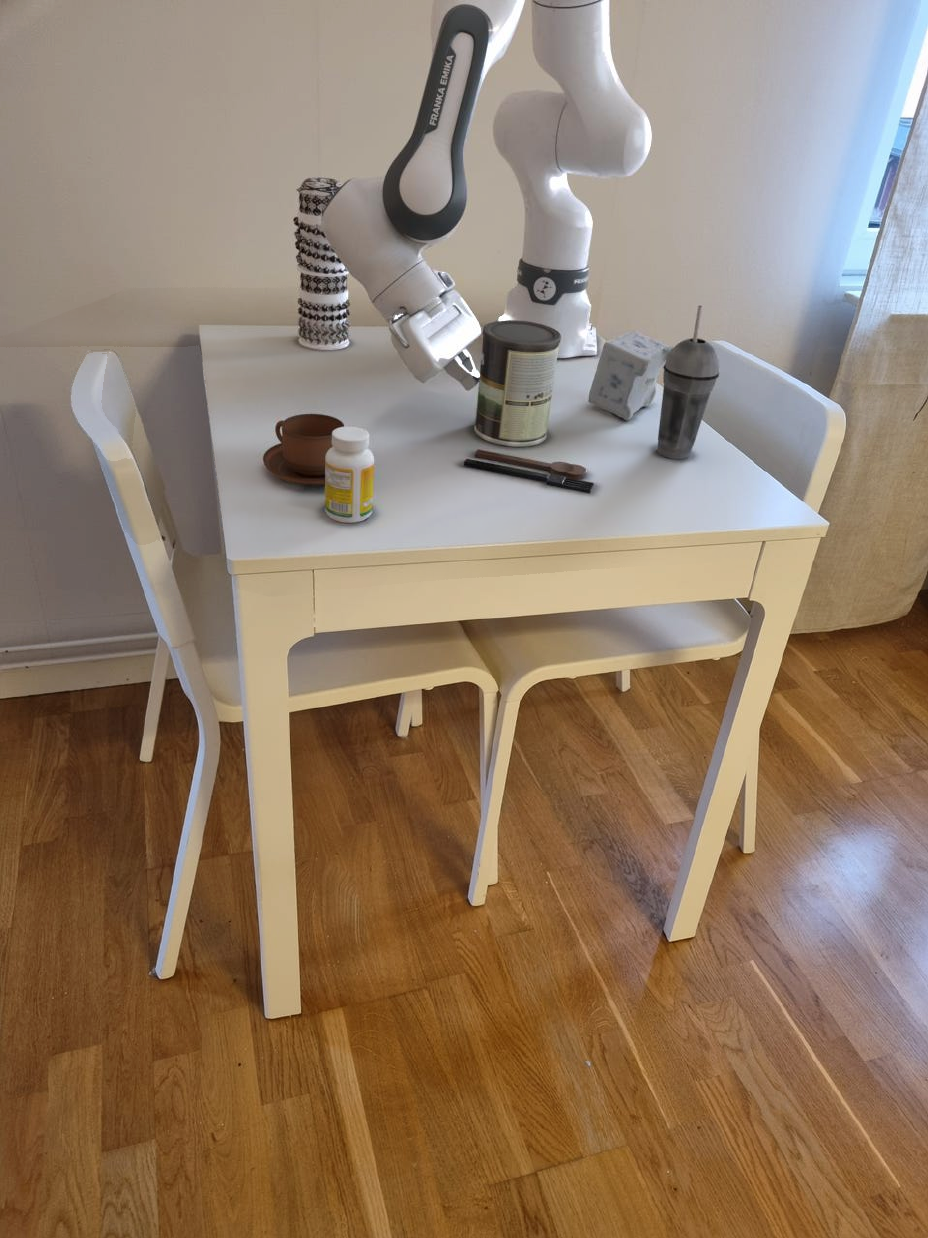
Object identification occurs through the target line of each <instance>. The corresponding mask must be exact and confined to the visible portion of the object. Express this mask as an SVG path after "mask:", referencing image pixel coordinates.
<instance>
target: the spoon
mask: <svg viewBox="0 0 928 1238" xmlns="http://www.w3.org/2000/svg"><path fill="white" fill-rule="evenodd" d="M474 457H475V458H480V459H484V460H485V459H486V460H490V461H495V462H501V463H506V464H511V465H516V466H521V467H527V468H531V469H537V470H541V471H547V472H549V473H550V474H555V475H560V476H565V477H567V478H572V479H577V480H583V479H584V478H586V477H587V473H588V472H587V468H586V467H585V466H582V465H579V464H576V463H570V462H566V461H553V462H551V463H550V462H546V461H540V460H535V459H530V458H525V457H521V456H520V457H519V456H514V455H509V454H504V453H499V452H493V451H489V450H483V449H480V448H479V449H477V450H476V451H475V452H474Z"/></svg>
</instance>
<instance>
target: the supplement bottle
mask: <svg viewBox="0 0 928 1238" xmlns="http://www.w3.org/2000/svg"><path fill="white" fill-rule="evenodd" d="M332 446H333V447H332V448H330V449H329V450H328V452H327V453H326V457H325V485H324V511H325V514H326V515H327V516H328V517H329V518H330V519H332V520H334V521H335V522H340V523H346V524H347V523H348V524H353V523H359V522H363V521H365V520H367V519H368V518H370V516H371V515H372V514H373V508H374V506H373V505H374V477H375V456H374V454H373V452H372V450H371V449H369V446H370V434H369V432H368V431H367V430H366V429H364V428H361V427H358V426H344V427H340V428H337V429H335V430H334V431H333V432H332Z"/></svg>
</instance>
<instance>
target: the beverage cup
mask: <svg viewBox="0 0 928 1238" xmlns="http://www.w3.org/2000/svg"><path fill="white" fill-rule="evenodd" d="M696 311H697V312H696V317H695V324H694V331H693V337H691V338H686V339H683V340H682V341H680V342H679V343H677V344H676V345H675V346H673V349H672V350H671V352H670V353H669V355H668V358H667V360H666V361H665V362H664V364H663V366H662V368H663V374H662V375H663V378H662V379H663V381H662V382H663V388H662V389H663V391H662V399H661V408H660V417H659V426H658V432H657V433H658V434H657V448H656V451H657V453H658V454H659V455H660V456H663V457H664V458H668V459H673V460H685V459H688V458H690V456H691V453H692V449H693V447H694V445H695V442H696V438H697V437H698V434H699V430H700V427H701V424H702V420H703V417H704V414H705V411H706V408H707V405H708V402H709V398H710V395H711V392H713V389H714V388H715V385H716V382H717V379H718V378H719V377H720V359H719V354H718V352H717V351H716V349H715V348H714V346H713V345H712V344H711V343H710V342H708V341H707V340H705V339H702V338H698V336H699V329H700V324H701V316H702V311H703V305H697V310H696Z"/></svg>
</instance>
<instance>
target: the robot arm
mask: <svg viewBox="0 0 928 1238" xmlns="http://www.w3.org/2000/svg"><path fill="white" fill-rule="evenodd" d="M525 3H526V0H432V5H431V17H430V37H431V58H430V67H429V70H428V74H427V77H426V82H425V85H424V89H423V93H422V97H421V100H420V105H419V108H418V111H417V116H416V120H415V124H414V127H413V130H412V133H411V136H410V137H409V139H408V141H407V142H406V144H405V145H404V147H403V148H402V149H401V151H400V152H399V153H398V154H397V156H395V158H394V159H393V161H392V162H391V164H390V165H389V167H388V168H387V170H386V173H385V175H381V176H375V177H368V178H367V177H366V178H360V177H359V178H358V177H352V178H350V179H348V180H346V181H345V182H344V183H342V186H341V187H340V188H339V189H338V190H337V191H336V192H335V193H334V194H333V196H332V197H331V198H330V200H329V201H328V203H327V204H326V207H325V208H324V210H323V213H322V219H321V221H322V223H321V225H322V230H323V232H324V235H325V237H326V239H327V240H328V242H329V244H330V246H331V247H332V249H333V250H334V252H335V253H336V255H337V256H338V258H339V259H340V261H341V262H342V264H343V265H344V266H345V268H346V269H347V270H348V272H349V273H348V274H349V275H350V276H351V277H352V278H354V279H355V280H357V282H358V283H360V284H361V286H362V287H363V288H364V290H365V291H366V294H367V297H368V299H369V300H370V303H371V304H372V305H373V306H374V307H375V309H376V310H377V312H378V313H379V314H380V316H381V317H382V318H383V320H384V321H385V323H387V325H388V331H389V332H390V340H391V344H392V345H393V347H394V349H395V351H396V352H397V354H398V356H399V358H400V359H401V360H402V362H403V363H404V364H405V366H406V367H407V369H408V371H409V372H410V373H411V375H412V376H413V378H415V379H416V380H417V381H419V382H420V383H422V384H425V383H426V382H428V381H429V380H431V378H433V377H434V376H436V375H437V374H438V373H439V372H440V371H442V370H443V369H444V371H445V372H446V373H447V374H448V375H449V376H450V377H452V378H453V379H455V380H456V381H457V382H459V383H460V385H461V386H462V387H463V389H464V390H465V391H467V392H469V391H471V390H472V389H473V388H475V387H476V386H478V385H479V378H480V372H479V371H478V370H477V368H476V366H475V362H474V360H473V358H472V355H471V354H470V352H469V351H468V349H467V348H468V347H469V346H470V345H471V344H472V343H473V342H474V341H476V340H477V339H478V338H479V337H480V336H481V335H482V334H483V331H482V329H481V325H480V323H479V321H478V319H477V317H476V316H475V315H474V313H473V311H472V310H471V308H470V306H469V305H468V303H467V302H466V301H465V299H464V298H463V297H462V295H461V294H460V293H459V291H457V290H456V289H453V288H454V287H455V286H456V283H455V280H454V279H453V277H451V275H450V274H449V273H448V272H445V271H440V270H436V269H434V268H433V267H430V266H429V265H428V263H427V261H426V260H425V259H424V258H423V256H422V252H423V251H425V250H427V249H428V248H430V247H432V246H434V245H438V244H440V243H442V242H444V241H446V240H448V239H449V238H450V237H451V236H452V235H453V234H454V233H455V231H456V230H457V229H458V227H459V225H460V223H461V220H462V218H463V216H464V213H465V210H466V206H467V200H468V185H467V184H468V183H467V178H466V177H467V176H466V171H465V162H464V160H465V159H464V157H465V148H466V143H467V139H468V137H469V132H470V128H471V124H472V120H473V118H474V117H473V116H474V113H475V110H476V106H477V101H478V98H479V94H480V91H481V88H482V85H483V83H484V81H485V78H486V76H487V74H488V72H489V71H490V70H491V68H492V66H493V65H495V64H496V63H497V62H498V61H499V60H501V59H502V58H503V57H504V55H505V54H506V52H507V50H508V48H509V45H510V44H511V41H512V39H513V38H514V37H513V36H514V34H515V32H516V29H517V26H518V25H519V21H520V18H521V15H522V12H523V9H524V6H525ZM530 3H531V6H530V7H531V33H532V34H531V37H532V51H533V52H532V53H533V55H534V59H535V60H536V63H537V64H538V66H539V67H540V68H541V69H542V70H543V72H545V73H546V74H547V75H549V76H550V77H551V78H552V79H553V80H554V81H556V83H557V84H558V86H559V87H560V88H561V90H562V92H557V91H549V90H542V89H534V90H523V91H517V92H516V91H515V92H511V93H509V94H507V95H506V96H505V97H504V98H503V100H502V101H501V102H500V103H499V105H498V107H497V109H496V111H495V115H494V118H493V123H492V136H493V137H492V138H493V141H494V144H495V145H494V146H495V147H496V149H497V152H498V153H499V155H500V156H501V157H502V158H503V159H504V160H505V162H506V163H507V164H508V166H509V167H510V168H511V171H512V172H513V175H514V176H515V179H516V180H517V183H518V185H519V188H520V193H521V195H522V200H523V206H524V207H523V208H524V227H523V228H524V230H523V231H524V232H523V243H522V254H521V258H520V259H519V260H518V266H517V270H516V273H517V277H516V281H517V284H515V286H514V287H513V288H511V289H510V290H509V291H507V294H506V297H505V298H506V299H505V304H504V312H503V315H502V316H500V317H498V321H504V320H518V321H528V322H534V323H539V324H543V325H546V326H549V327H551V328H553V329H555V330H557V331H558V332H559V333H560V334H561V341H560V343H559V348H558V355H557V359H566V358H575V357H580V356H581V357H582V356H583V357H584V356H589V357H590V356H596V355H597V354H598V346H597V345H598V344H597V329H596V327H594V326H593V324H592V322H590V316H591V309H592V304H591V303H590V299H589V296H588V293H587V290H586V289H587V287H588V283H589V279H590V267H589V265H588V260H589V256H590V255H589V254H590V248H591V247H590V246H591V240H592V235H593V234H592V233H593V227H594V221H593V217H592V214H591V212H590V210H589V208H588V207H587V206H586V204H585V203H583V201H581V200H580V199H579V198H577V197H576V196H575V195H574V193H573V192H572V190H571V188H570V185H569V182H568V174H571V175H577V176H578V175H579V176H585V177H590V178H597V179H618V178H626V177H631V176H633V175H634V174H636V172H637V171H639V169H640V168H641V167H642V166H643V164H644V163H645V161H646V159H647V157H648V155H649V152H650V150H651V145H652V128H651V123H650V120H649V118H648V115H647V114H646V112H645V110H644V109H643V108H642V107H641V106H639V105H638V104H637V102H636V101H634V99H633V97H631V95H630V94H629V92H628V91H627V90H626V88H625V86H624V84H623V83H622V81H621V79H620V77H619V75H618V72H617V69H616V66H615V63H614V60H613V54H612V48H611V33H610V29H611V27H610V0H530Z"/></svg>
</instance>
